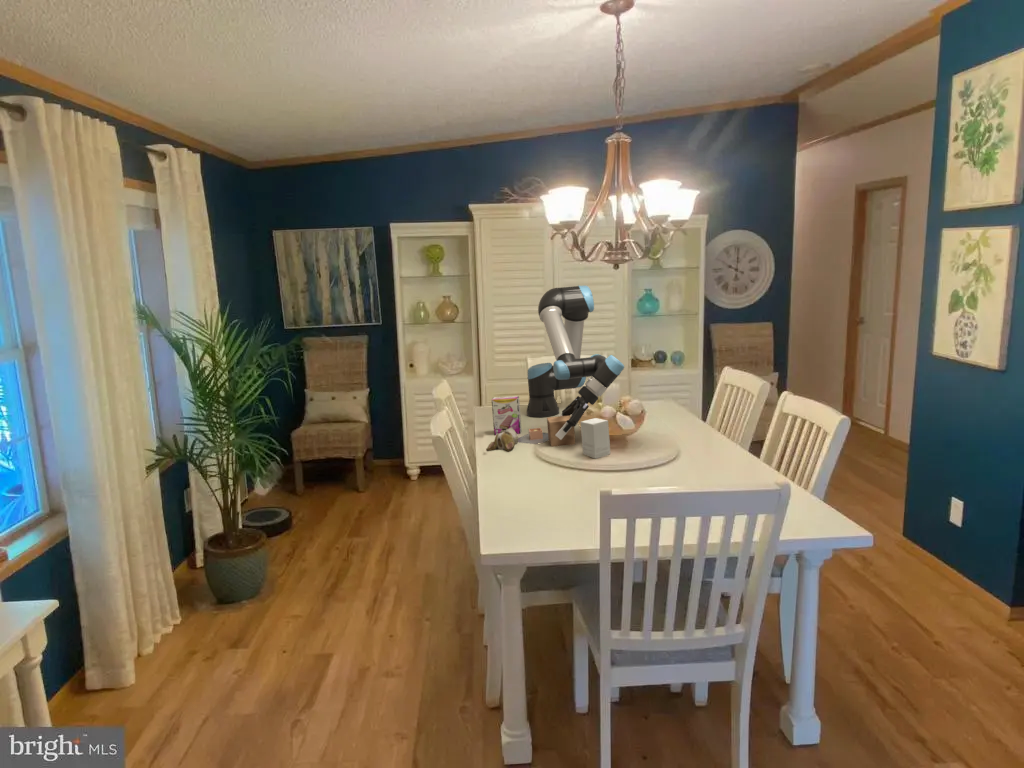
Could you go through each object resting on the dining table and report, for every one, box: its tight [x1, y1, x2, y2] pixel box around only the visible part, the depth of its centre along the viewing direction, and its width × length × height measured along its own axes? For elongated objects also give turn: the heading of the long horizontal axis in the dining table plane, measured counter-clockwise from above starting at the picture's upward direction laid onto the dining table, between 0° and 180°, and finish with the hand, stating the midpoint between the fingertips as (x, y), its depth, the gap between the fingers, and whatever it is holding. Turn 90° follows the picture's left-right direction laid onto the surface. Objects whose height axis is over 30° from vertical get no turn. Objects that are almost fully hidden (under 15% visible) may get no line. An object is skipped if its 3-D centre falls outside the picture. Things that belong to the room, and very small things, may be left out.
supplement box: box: [580, 417, 611, 459], centre depth 249 cm, size 7×7×13 cm
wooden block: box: [546, 415, 576, 447], centre depth 266 cm, size 9×9×10 cm
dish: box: [528, 427, 543, 440], centre depth 277 cm, size 5×5×3 cm
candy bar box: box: [491, 395, 522, 436], centre depth 288 cm, size 11×5×16 cm, turn 84°
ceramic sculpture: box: [485, 427, 519, 452], centre depth 267 cm, size 11×9×15 cm
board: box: [518, 432, 549, 445], centre depth 277 cm, size 16×14×1 cm
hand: (555, 433), depth 265 cm, fingers open, 13 cm apart
